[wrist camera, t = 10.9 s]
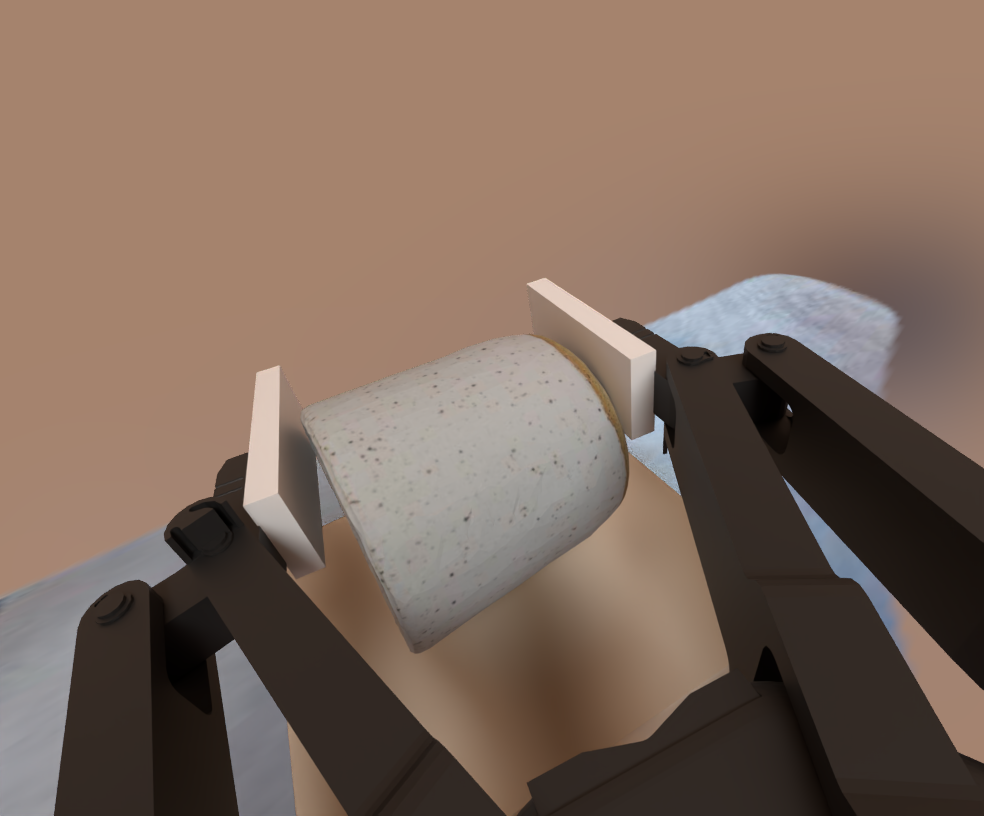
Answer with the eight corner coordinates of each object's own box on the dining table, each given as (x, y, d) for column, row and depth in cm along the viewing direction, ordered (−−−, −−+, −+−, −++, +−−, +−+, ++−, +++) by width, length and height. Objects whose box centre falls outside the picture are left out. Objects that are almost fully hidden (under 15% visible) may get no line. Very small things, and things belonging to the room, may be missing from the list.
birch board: (334, 961, 12) (309, 954, 11) (285, 570, 22) (270, 550, 21) (802, 631, 16) (813, 606, 15) (579, 431, 26) (577, 409, 25)
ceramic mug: (650, 546, 16) (651, 346, 12) (440, 709, 13) (336, 523, 9) (484, 416, 24) (448, 267, 19) (330, 499, 21) (247, 346, 17)
